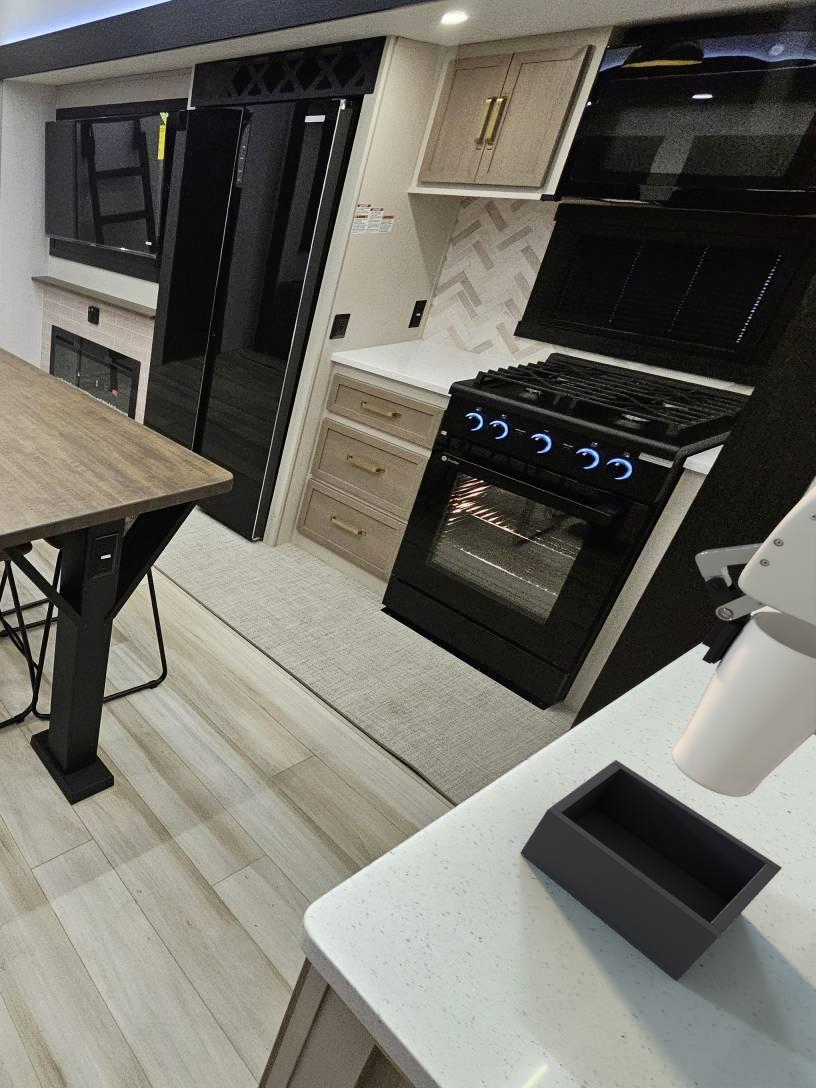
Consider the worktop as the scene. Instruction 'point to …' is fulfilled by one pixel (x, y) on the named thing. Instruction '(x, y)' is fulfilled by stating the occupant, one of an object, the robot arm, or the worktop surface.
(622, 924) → the bin
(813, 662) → the white cup
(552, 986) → the worktop surface
